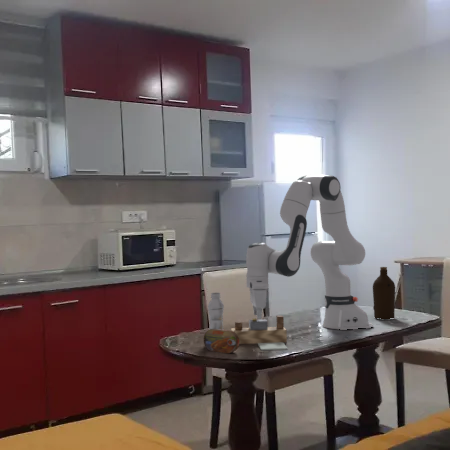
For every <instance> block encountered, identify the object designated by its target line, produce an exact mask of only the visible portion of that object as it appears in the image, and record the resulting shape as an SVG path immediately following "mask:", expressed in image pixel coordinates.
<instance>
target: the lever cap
mask: <svg viewBox="0 0 450 450" xmlns="http://www.w3.org/2000/svg"><path fill="white" fill-rule="evenodd" d="M268 327H269V326H268V320H267V319H265V318H264V319H263V318H261V319H257V317H256V318H255V317H253V318H252V319H249V320H248V328H249V329H250V330H268Z"/></svg>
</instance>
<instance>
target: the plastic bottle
mask: <svg viewBox="0 0 450 450" xmlns="http://www.w3.org/2000/svg"><path fill="white" fill-rule="evenodd" d="M210 296H211V297H210V298H211V300H210V301H209V303H208V304H207V311H208V315H209V316H208V317H209V327H208V328H209V329H208V330H210V329H220V330H224V323H223V319H224V318H223V317H224V308H225V306H224V303H223V301H222V300H221V299H220V298H221V292H212V293H210Z"/></svg>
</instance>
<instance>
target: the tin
mask: <svg viewBox="0 0 450 450" xmlns="http://www.w3.org/2000/svg"><path fill="white" fill-rule="evenodd" d="M203 343H204V344H203V345H204V346H205V348H206V349H207V350H209V351H210V352H214V351H215V353H216V352H217V353H222V354H230V353H234V352H236V351H237V350H238V349H239V347H240V344H239V337H238V335H237V334H236V333H235V332H234V331H231V329H229V330H228V329H223V330H220V329H210V330H209V329H207V330H206V331H205V333H204V335H203Z"/></svg>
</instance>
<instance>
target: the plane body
mask: <svg viewBox="0 0 450 450" xmlns="http://www.w3.org/2000/svg"><path fill="white" fill-rule="evenodd" d="M275 318H276V326H268V330H250V329H249V327H243V322H242V321H234V327H233V328H232V327H231V328H230V330H231V331H234V332H235V333H236V334H237V335H238V337H239V345H245V344H247V345H248V344H249V345H251V344H258V343H277V342H283V343H287V341H288V340H287V337H288V334H287V330H288V329H286V328H285V327H284V326H285V323H284V322H285V321H284V318H285V317H284V315H276V317H275Z"/></svg>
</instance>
